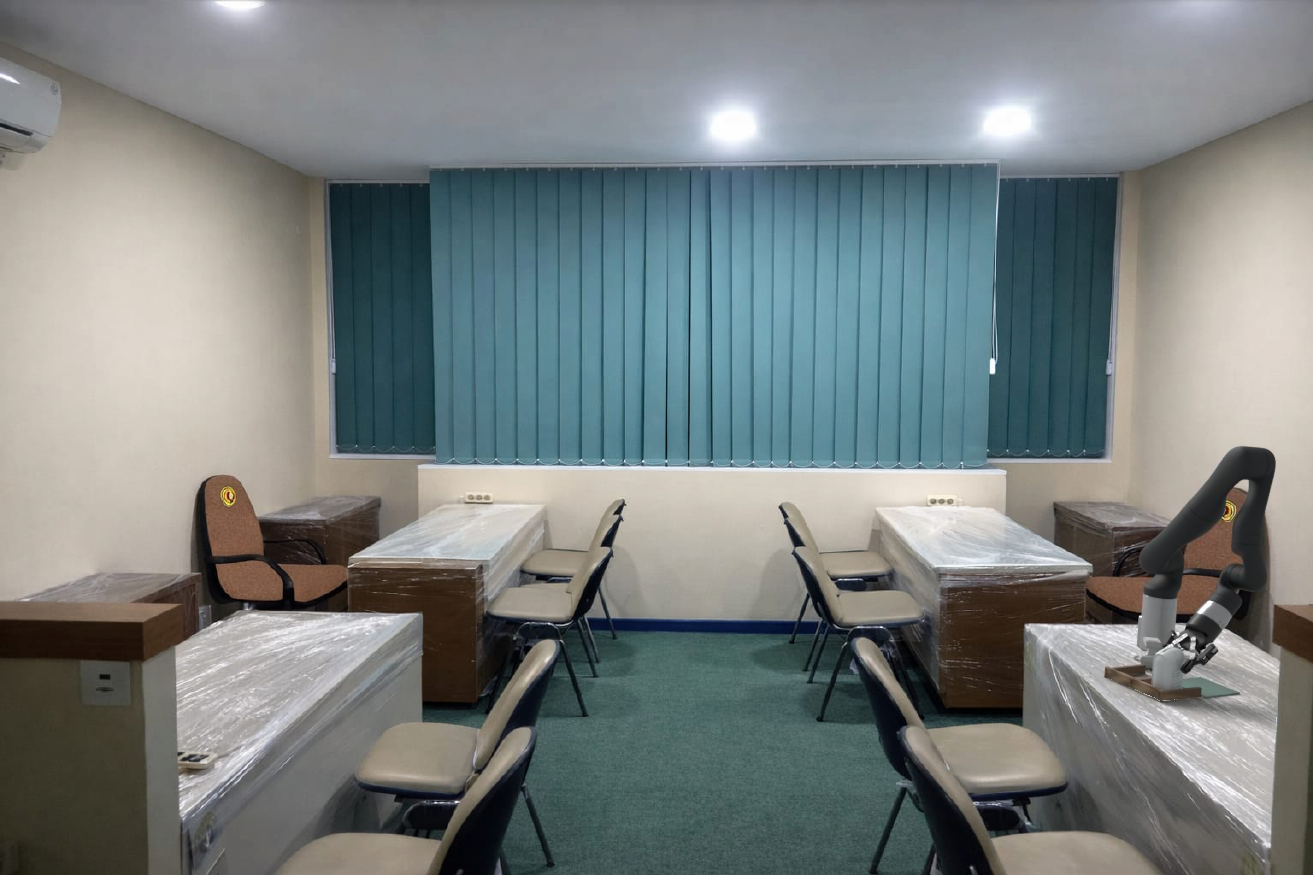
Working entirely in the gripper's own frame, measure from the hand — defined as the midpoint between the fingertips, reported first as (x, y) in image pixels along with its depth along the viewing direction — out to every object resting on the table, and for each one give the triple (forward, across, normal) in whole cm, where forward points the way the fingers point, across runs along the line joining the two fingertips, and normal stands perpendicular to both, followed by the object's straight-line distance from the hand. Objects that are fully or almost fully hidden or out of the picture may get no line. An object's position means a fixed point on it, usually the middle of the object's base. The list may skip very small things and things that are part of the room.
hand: (1172, 667), depth 240 cm
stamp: (-3, -17, +13) cm, 22 cm away
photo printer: (+6, 0, +4) cm, 7 cm away
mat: (-3, 0, +13) cm, 14 cm away
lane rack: (+6, -5, +4) cm, 8 cm away
